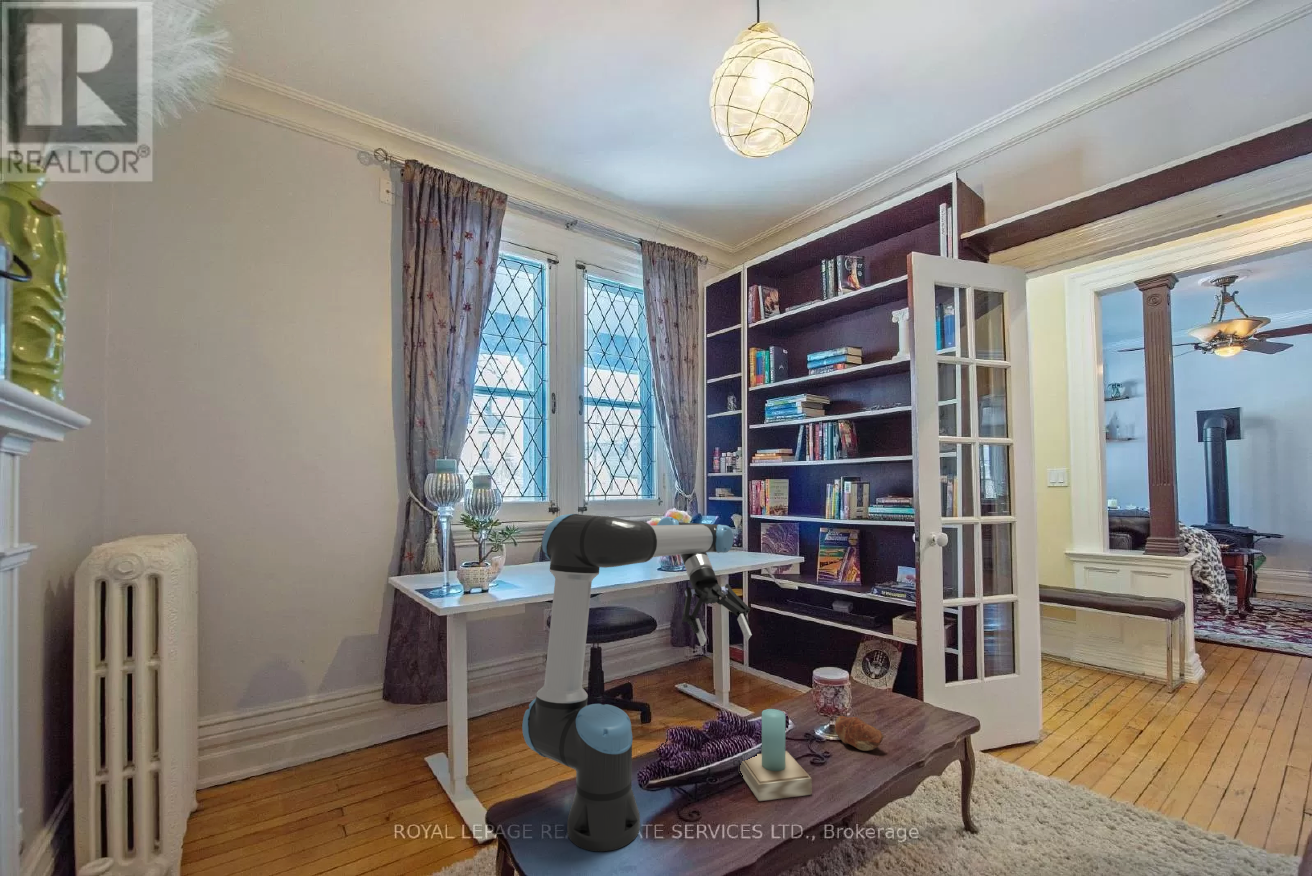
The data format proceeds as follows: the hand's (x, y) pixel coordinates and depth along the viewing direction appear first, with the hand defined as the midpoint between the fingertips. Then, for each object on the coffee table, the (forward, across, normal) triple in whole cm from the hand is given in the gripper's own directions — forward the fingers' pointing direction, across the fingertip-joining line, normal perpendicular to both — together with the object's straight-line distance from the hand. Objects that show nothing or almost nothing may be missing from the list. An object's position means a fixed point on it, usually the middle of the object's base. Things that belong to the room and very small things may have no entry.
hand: (726, 640), depth 151 cm
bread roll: (+27, -36, -16) cm, 47 cm away
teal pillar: (+29, -4, -7) cm, 30 cm away
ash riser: (+32, -4, -10) cm, 34 cm away
